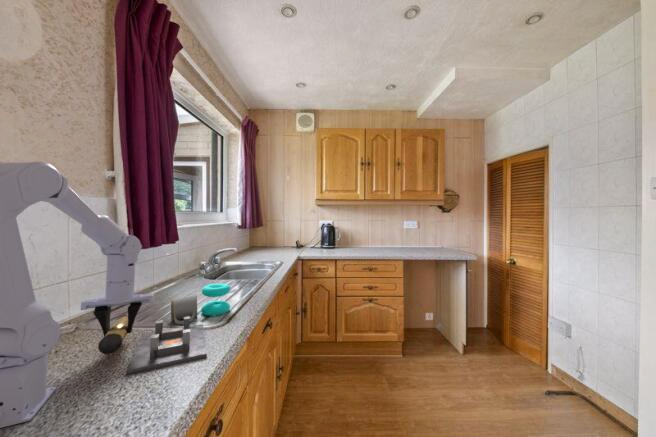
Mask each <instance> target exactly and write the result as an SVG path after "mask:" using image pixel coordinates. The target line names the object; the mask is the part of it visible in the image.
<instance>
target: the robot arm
mask: <svg viewBox="0 0 656 437" xmlns="http://www.w3.org/2000/svg"><path fill="white" fill-rule="evenodd" d="M40 202H42V203H49V204H50V205H52V206H53V207H54V208H56V209H57V210H59V211H61V212H62V213H64V214H65V215H66V216H69V217H70V218H71V219H73V221H75V222H77V223H78V224H80V225H81V229H80V230H81V233H82V234H84V235H85V236H87V237H88V238H90V239H91V240H92V241H93V242H95V243H96V244H97V245H98V246H99V247H100V252H101V254H102V255H105V256H106V278H105V281H106V282H105V297H101V298H100V297H99V298H93V299H86V300H85V299H84V300H83V301H81V302H80V311H86V310H88V309H89V310H91V309H94V311H93V315H94V317H95V318H96V319H97V321H98V323H99V324H100V328H101V329H102V333H103V334H102V335H103V337H104V336H105V335H106V334H107V333H108V331H109V330H110V329H111V313H112V307H117V306H125V305H127V314H128V326H127V334H131V333H132V331H133V328H134V327H133V326H134V324H133V323H135V319H136V317H137V314H138V313H139V311H140V309H141V307H142V305H143V304H145V303H148V304H151V303H154V300H155V293H146V294H144V293H143V294H142V293H141V294H139V293H138V294H137V293H136V294H135V274H136V271H135V270H136V263H137V261H138V260H139V259H138V257H139V254H140V253H141V250H142V248H143V245H142V244H141V241H140V239H139V238H138V237H137V236H135V235H133V234H128V233H127V232H126V230H125V229H124V228H121V227H120V226H119V225H118V224H117V223H116V222H115V221H114V218H113V217H112V216H110V215H106V214H97V212H95V211H94V210H93V208H92V207H90V206H89V205H88V204H87V202H85V201H84V200H83V199H82V198H81V197H80V196H79V195H78V194H77V193H76V191H75V190H73V189H72V187H70V186H69V180H68V178H67V177H66V176H64V175H63V174H62V173H61V172H60V171H59V170H58V169H57V168H56V167H55V166H53V165H52V164H50V163H47V162H45V161H37V160H36V161H29V162H28V161H26V162H22V161H19V162H17V161H16V162H9V161H8V162H6V161H5V162H3V161H0V429H2V428H6V427H10V426H13V425H17V424H21V423H26V422H29V421H31V420H32V419H33V418H34V417H35V415H36V414H37V413H38V412H39V411H40V410H41V408H42V407H43V406H44V405H45V403H47V401H48V399H50V397H51V396H52V395H53V393H54V392H55V391H56V389H57V386H51V387H47V378H48V376H47V374H48V359H49V358H48V356H49V355H48V354H50V353H51V352H52V349H53V348H54V347H55V346H56V345H57V343H58V342H59V340H60V338H61V334H62V328H61V325H60V324H59V323H58V322H57V321H56V320H55V319H54V318H53V317H52V312H51V311H50V310H49V309H48V308H47V307H45V306H44V305H42V304H41V303H40V302H38V301H37V300H36V297H35V292H34V288H33V284H32V279H31V275H30V274H31V273H30V271H29V266H28V263H27V258H26V254H25V249H24V246H23V242H22V238H21V234H20V229H19V226H18V225H19V224H18V221H17V217H18V216H19V215H21V214H22V213H23V212H24V211H25V210H27V209H28V208H29V207H31V206H32V205H35V204H37V203H40Z"/></svg>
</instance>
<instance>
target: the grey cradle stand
mask: <svg viewBox="0 0 656 437" xmlns="http://www.w3.org/2000/svg"><path fill="white" fill-rule="evenodd" d="M183 321H184V325H183V326H182V327H176V328H170V329H164V320H163V319H160V320H156V322H155V327H154V328H155V329H154V330H155V331H152V332H144V333H141V335H140V337H139V340H138V342H137V345H136V347H135V349H134V350H133V351H134V352H133V353H132V356H131V358H130V360H129V363H128V365H127V367H126V370H125V376H127V375H132V374H138V373H142V372H147V371H151V370H156V369H160V368H165V367H169V366H174V365H178V364H183V363H187V362H192V361H196V360H198V361H199V360H202V359H206V358H207V356H208V355H207V344H206V338H205V330H204V324H203V323H201V324H195V325H191V322H190V316H188V317H184V319H183Z"/></svg>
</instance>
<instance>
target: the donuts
mask: <svg viewBox="0 0 656 437" xmlns="http://www.w3.org/2000/svg"><path fill="white" fill-rule="evenodd" d="M230 292H231V286H230V285H229V284H227V283H220V282H219V283H210V284H208V285H207V284H206V285H205V286H203V287H202V289H201V294H202V295H203V296H205V297H207V298H219V297H223V296H225V295H227V294H230ZM230 308H231V305H230V303H229V302H228V301H226V300H211V301H208V302H206V303H205V304H203V305H202V306H201V309H200V311H201V313H202V314H203V315H205V316H210V317H211V316H212V317H213V316H215V317H216V316H221V315H223V313H224V314H226V313H228V312H229V310H230ZM225 312H226V313H225ZM220 314H221V315H220Z"/></svg>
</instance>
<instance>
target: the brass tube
mask: <svg viewBox="0 0 656 437" xmlns="http://www.w3.org/2000/svg"><path fill="white" fill-rule="evenodd" d="M134 323H135V322H134ZM134 323H133V325H134ZM127 326H128V313H126V314H121V315H120V316H119V317H118V318H116V320H115V322H114V323H113V325H112V326H110V330H109V331H108V333H107V334H106V335H105V336H104V335H103V337H102V338H101V339H100V341H99V343H98V346H97V349H98V351H99V352H100V353H101V354H104V355H110V354H114V353H115V352H117V351H118V350H119V349H120V348H121V346H122V344H123V342H124V340H125V338H126V337H127V335H128V333H127Z"/></svg>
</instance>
